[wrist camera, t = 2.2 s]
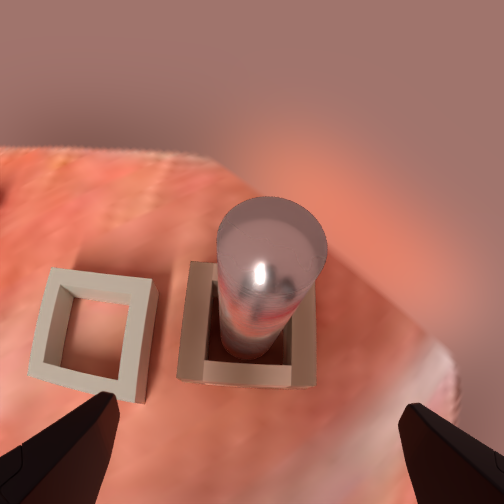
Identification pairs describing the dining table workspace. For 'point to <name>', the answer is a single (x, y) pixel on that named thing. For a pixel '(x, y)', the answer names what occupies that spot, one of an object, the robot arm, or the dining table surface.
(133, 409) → the dining table surface
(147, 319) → the square hollow frame
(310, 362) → the beige square ring
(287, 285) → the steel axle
